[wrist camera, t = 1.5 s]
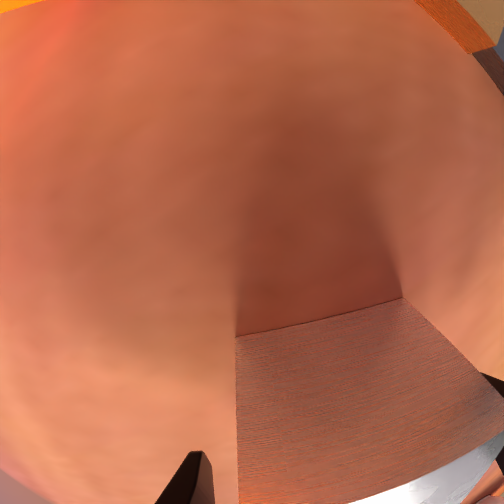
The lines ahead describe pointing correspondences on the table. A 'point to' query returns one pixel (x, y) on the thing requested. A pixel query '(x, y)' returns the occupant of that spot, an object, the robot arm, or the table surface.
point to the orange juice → (14, 4)
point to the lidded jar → (491, 500)
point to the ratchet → (474, 30)
